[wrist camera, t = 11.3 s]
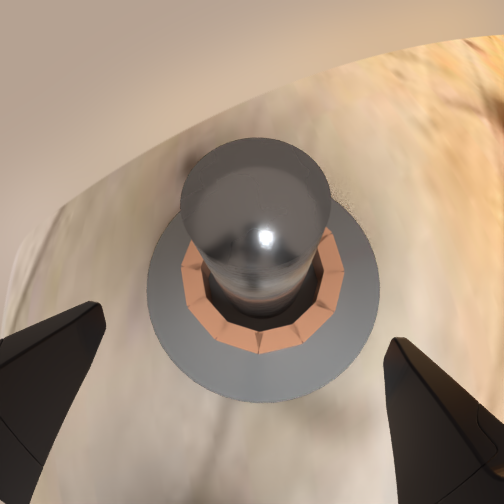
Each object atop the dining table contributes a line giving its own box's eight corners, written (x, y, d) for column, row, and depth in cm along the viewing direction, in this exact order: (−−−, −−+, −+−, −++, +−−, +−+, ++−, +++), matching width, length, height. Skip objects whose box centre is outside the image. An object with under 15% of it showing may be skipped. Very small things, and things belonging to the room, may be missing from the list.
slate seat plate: (255, 446, 18) (252, 462, 14) (113, 276, 22) (91, 261, 19) (414, 286, 21) (436, 272, 17) (267, 151, 25) (267, 123, 22)
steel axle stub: (285, 329, 19) (305, 292, 9) (212, 302, 20) (155, 238, 10) (309, 259, 21) (345, 160, 10) (240, 235, 22) (217, 125, 11)
